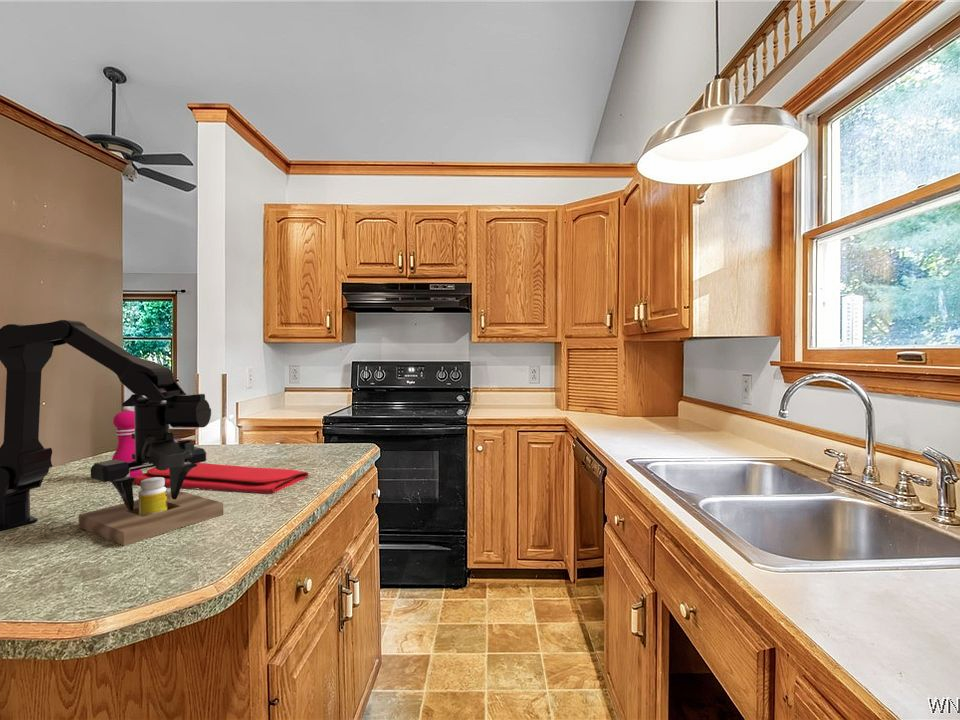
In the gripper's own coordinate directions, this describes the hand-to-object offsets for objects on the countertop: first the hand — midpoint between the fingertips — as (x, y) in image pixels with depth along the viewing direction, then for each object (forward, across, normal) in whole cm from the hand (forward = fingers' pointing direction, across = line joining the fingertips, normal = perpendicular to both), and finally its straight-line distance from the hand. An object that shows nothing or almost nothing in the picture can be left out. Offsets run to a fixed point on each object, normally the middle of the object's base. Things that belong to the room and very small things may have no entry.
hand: (153, 504), depth 94 cm
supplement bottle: (+4, 0, 0) cm, 4 cm away
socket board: (+3, 0, 0) cm, 3 cm away
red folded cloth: (+4, +24, +16) cm, 29 cm away
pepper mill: (+4, +13, +41) cm, 43 cm away
